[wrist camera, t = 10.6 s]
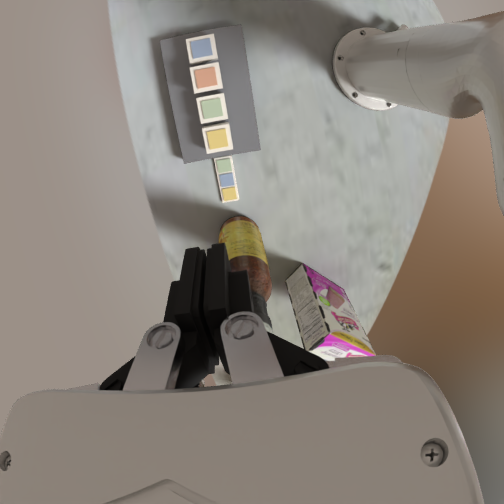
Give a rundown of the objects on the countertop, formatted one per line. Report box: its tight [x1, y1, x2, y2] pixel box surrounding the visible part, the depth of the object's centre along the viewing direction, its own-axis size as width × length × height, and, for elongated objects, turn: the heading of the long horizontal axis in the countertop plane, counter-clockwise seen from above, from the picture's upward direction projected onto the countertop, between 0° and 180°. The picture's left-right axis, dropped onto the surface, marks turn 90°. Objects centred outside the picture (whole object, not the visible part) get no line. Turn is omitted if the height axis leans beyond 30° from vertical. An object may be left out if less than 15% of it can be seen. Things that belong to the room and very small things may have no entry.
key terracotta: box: [190, 62, 223, 94], centre depth 29 cm, size 3×3×4 cm
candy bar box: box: [285, 263, 376, 361], centre depth 44 cm, size 11×5×16 cm, turn 53°
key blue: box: [186, 34, 218, 65], centre depth 28 cm, size 3×3×4 cm
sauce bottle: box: [219, 216, 272, 333], centre depth 36 cm, size 7×6×20 cm
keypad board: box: [160, 25, 261, 164], centre depth 32 cm, size 17×10×2 cm, turn 8°
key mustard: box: [202, 122, 233, 154], centre depth 34 cm, size 3×3×4 cm
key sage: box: [196, 93, 228, 124], centre depth 32 cm, size 3×3×4 cm
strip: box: [214, 155, 239, 203], centre depth 40 cm, size 7×2×1 cm, turn 8°
